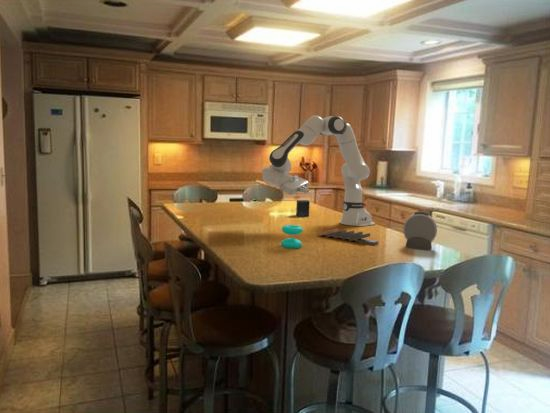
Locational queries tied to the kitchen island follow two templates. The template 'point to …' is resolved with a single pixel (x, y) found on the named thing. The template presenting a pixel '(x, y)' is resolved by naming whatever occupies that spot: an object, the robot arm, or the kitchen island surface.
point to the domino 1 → (327, 232)
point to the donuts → (290, 241)
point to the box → (302, 208)
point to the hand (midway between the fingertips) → (307, 191)
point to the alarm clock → (420, 231)
